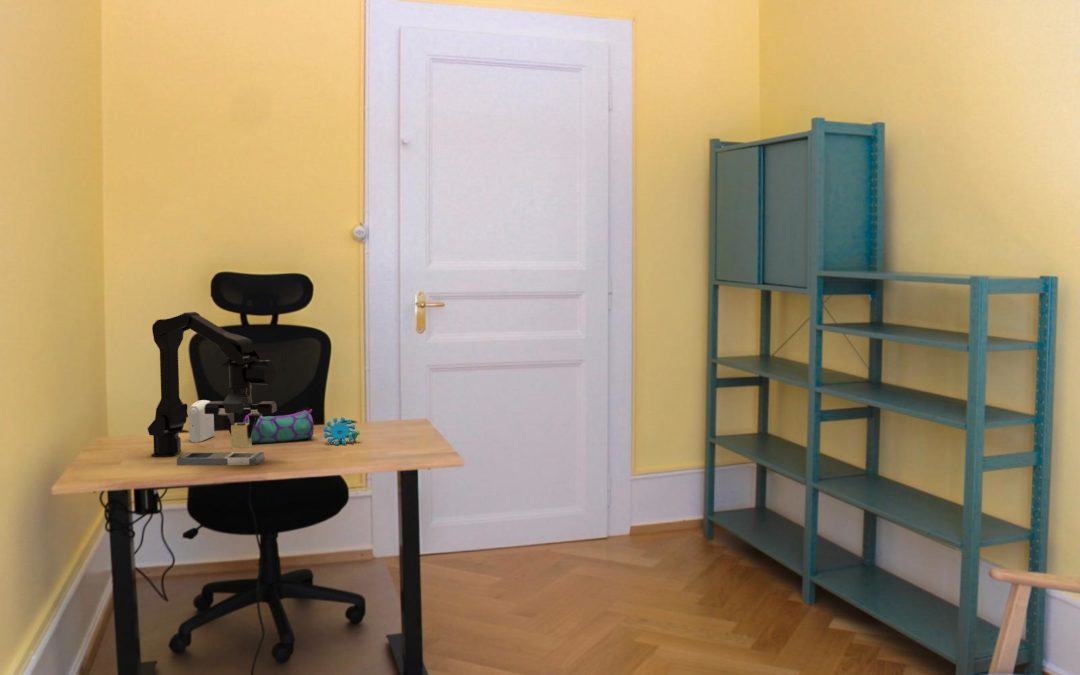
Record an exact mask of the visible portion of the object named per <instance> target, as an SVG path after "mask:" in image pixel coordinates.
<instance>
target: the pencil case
mask: <svg viewBox="0 0 1080 675" xmlns="http://www.w3.org/2000/svg"><path fill="white" fill-rule="evenodd" d="M312 412H313V409H312V408H310V409H309V410H307V409H305V410H302V411H298V412H295V413H292V414H286V415H275V416H274V415H273V416H272V415H271V416H270V415H268V416H263V415H261V416H260V417H259V419H258V421H257V423H256V425H255V428H254V431H253V434H252V444H263V443H282V442H285V443H286V442H291V441H293V442H294V441H299V440H305V439H307V440H310V439H312V438H313V436H314V430H315V429H314V428H315V427H314V426H315V425H314V420H313V419H314V418H313V417H312V415H311V413H312ZM250 414H251V412H250V413H248V414H246V415H245V417H244V419H243V421H242V423H249V416H248V415H250Z"/></svg>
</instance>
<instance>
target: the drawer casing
mask: <svg viewBox="0 0 1080 675" xmlns="http://www.w3.org/2000/svg"><path fill="white" fill-rule="evenodd" d="M264 459H265V452H263V451H262V452H261V451H255V452H253V451H252V452H251V451H249V452H248V451H247V452H246V451H245V452H241V451H240V452H239V451H238V452H237V451H230V452H227V451H225V452H223V451H220V452H217V451H214V452H211V451H210V452H209V451H208V452H207V451H205V452H201V451H200V452H194V451H193V452H191V451H190V452H187V451H186V452H185V453H184V454H182V455H180V456H178V457H176V465H177V466H216V465H217V466H219V465H221V466H223V465H224V466H227V465H228V466H235V465H236V466H246V465H248V466H249V465H250V466H255V465H256V466H257V465H258V464H260V462H262V461H263V460H264Z"/></svg>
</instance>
